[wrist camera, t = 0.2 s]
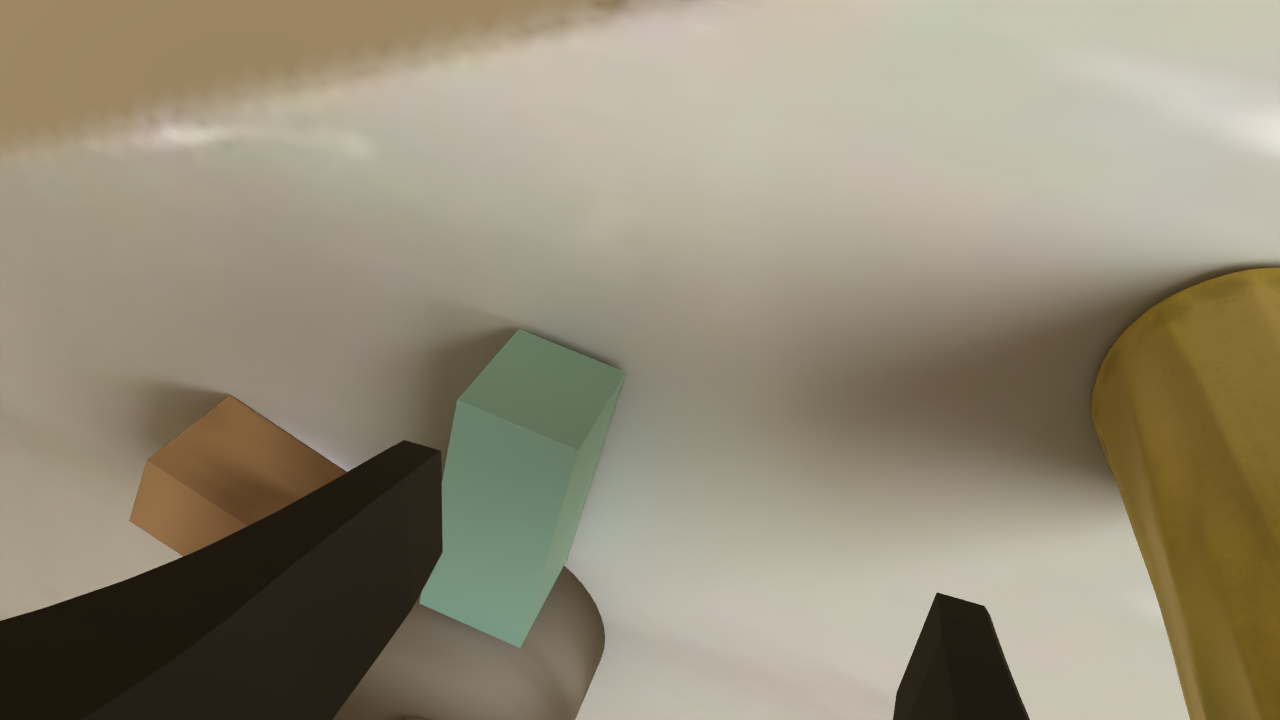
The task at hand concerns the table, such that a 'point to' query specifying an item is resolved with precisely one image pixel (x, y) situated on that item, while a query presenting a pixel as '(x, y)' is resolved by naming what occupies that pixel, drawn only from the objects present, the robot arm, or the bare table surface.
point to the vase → (1205, 481)
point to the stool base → (426, 640)
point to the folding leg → (518, 482)
